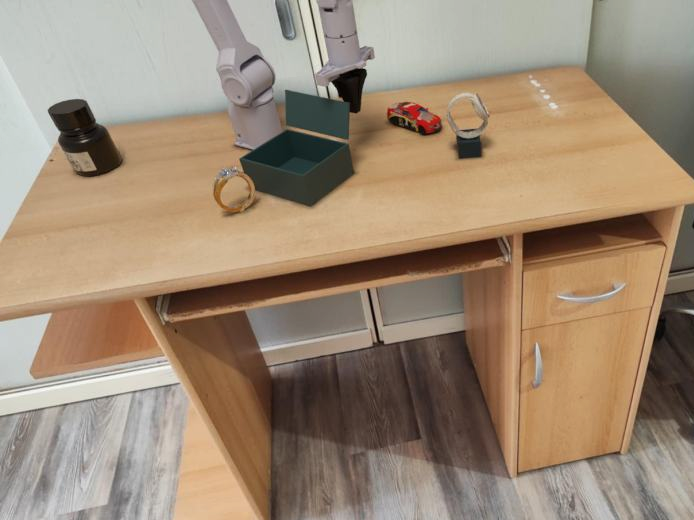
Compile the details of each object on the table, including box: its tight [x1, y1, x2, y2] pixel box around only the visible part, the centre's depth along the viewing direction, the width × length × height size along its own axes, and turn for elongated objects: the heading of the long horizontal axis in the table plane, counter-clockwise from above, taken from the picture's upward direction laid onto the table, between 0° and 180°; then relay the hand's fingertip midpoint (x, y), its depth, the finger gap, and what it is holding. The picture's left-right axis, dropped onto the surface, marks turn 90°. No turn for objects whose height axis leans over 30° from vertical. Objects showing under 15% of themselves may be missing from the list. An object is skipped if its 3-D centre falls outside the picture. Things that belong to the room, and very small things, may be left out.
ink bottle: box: [47, 98, 122, 177], centre depth 111 cm, size 10×9×12 cm
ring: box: [212, 166, 256, 213], centre depth 99 cm, size 7×3×8 cm, turn 127°
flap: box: [284, 89, 351, 141], centre depth 105 cm, size 6×15×1 cm
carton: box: [238, 128, 355, 207], centre depth 106 cm, size 13×15×6 cm
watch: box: [446, 91, 490, 160], centre depth 109 cm, size 6×8×11 cm
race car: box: [386, 101, 443, 136], centre depth 121 cm, size 13×5×4 cm, turn 50°
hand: (354, 111), depth 108 cm, fingers closed
